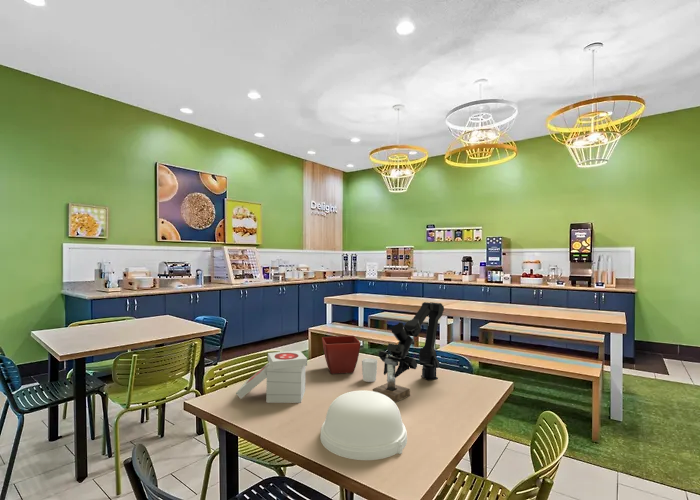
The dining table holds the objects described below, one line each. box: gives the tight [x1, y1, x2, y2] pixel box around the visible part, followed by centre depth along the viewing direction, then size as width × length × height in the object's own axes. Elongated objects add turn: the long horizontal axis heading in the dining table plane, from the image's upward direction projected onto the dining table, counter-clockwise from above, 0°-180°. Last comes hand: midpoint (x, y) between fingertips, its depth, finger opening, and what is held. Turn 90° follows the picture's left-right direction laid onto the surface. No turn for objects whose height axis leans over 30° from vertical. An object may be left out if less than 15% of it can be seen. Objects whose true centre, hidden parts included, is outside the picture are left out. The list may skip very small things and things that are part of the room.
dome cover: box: [319, 389, 408, 461], centre depth 125 cm, size 32×30×14 cm
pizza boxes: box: [236, 350, 308, 404], centre depth 161 cm, size 19×30×18 cm, turn 90°
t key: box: [383, 359, 399, 391], centre depth 163 cm, size 4×6×14 cm, turn 48°
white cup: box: [361, 357, 378, 383], centre depth 184 cm, size 8×8×10 cm
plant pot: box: [321, 335, 362, 375], centre depth 200 cm, size 19×19×17 cm
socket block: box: [372, 382, 411, 404], centre depth 163 cm, size 12×12×3 cm
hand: (389, 375), depth 162 cm, fingers closed on t key, 5 cm apart
